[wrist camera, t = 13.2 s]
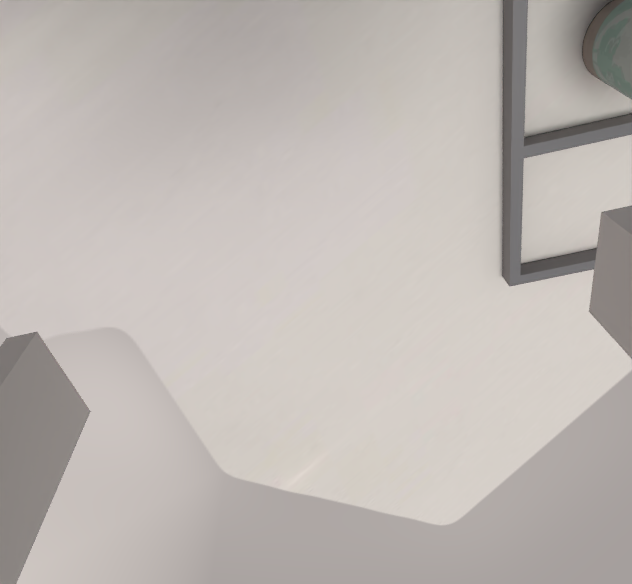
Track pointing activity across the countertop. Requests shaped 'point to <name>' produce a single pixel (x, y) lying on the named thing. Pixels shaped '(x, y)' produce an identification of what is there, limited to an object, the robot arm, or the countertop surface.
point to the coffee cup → (611, 46)
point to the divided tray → (532, 146)
